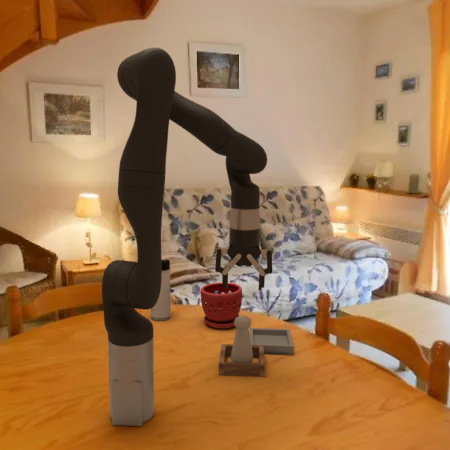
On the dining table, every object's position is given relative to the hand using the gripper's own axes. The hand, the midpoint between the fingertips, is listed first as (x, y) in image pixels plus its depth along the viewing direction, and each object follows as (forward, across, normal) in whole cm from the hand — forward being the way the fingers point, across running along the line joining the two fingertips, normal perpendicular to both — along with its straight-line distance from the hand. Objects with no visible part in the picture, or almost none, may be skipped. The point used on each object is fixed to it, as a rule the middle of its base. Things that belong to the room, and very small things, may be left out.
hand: (243, 288), depth 120 cm
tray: (+21, +8, +13) cm, 26 cm away
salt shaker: (+21, 0, 0) cm, 21 cm away
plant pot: (+21, -7, +28) cm, 36 cm away
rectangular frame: (+21, 0, 0) cm, 21 cm away
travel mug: (+21, -27, +31) cm, 46 cm away
